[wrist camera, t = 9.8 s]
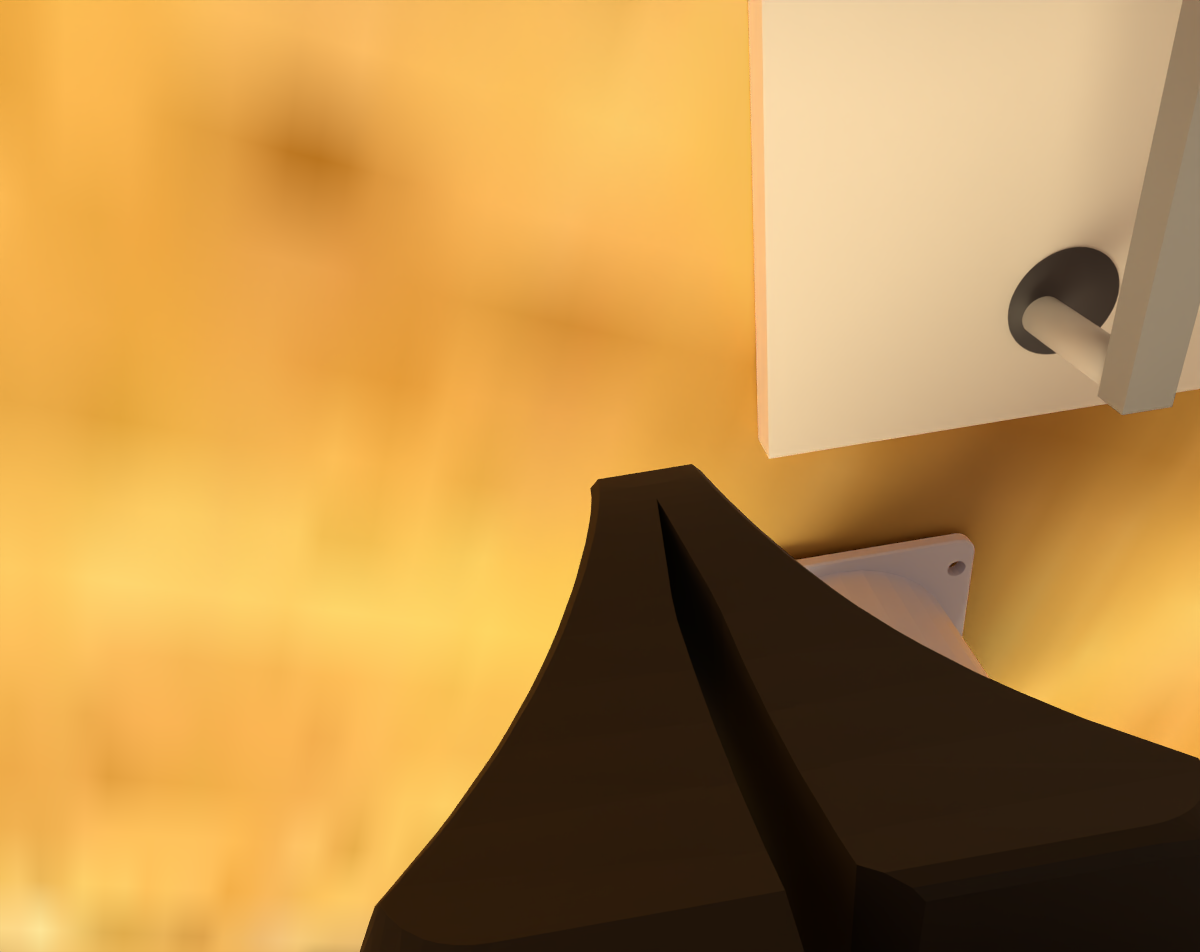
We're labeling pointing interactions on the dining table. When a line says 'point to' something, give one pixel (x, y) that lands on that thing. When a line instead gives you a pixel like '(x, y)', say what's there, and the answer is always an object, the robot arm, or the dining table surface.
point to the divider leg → (1148, 258)
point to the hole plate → (941, 204)
